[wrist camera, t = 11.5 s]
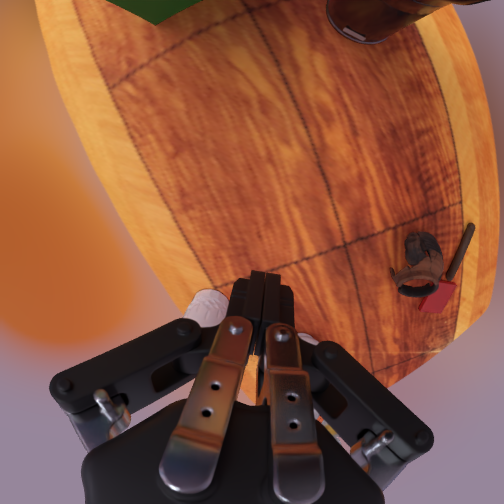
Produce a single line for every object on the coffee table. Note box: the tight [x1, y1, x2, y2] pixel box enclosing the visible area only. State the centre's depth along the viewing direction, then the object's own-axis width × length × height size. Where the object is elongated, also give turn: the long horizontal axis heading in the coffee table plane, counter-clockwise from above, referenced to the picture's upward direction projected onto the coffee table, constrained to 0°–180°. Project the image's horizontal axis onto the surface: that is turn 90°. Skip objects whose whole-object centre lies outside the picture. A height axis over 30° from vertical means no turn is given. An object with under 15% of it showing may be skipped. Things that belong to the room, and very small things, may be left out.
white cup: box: [183, 289, 229, 327], centre depth 43 cm, size 8×8×10 cm
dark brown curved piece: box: [390, 231, 444, 297], centre depth 37 cm, size 12×9×8 cm
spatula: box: [418, 223, 475, 313], centre depth 39 cm, size 19×6×2 cm, turn 172°
